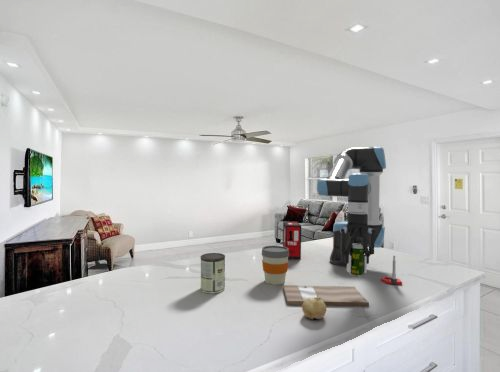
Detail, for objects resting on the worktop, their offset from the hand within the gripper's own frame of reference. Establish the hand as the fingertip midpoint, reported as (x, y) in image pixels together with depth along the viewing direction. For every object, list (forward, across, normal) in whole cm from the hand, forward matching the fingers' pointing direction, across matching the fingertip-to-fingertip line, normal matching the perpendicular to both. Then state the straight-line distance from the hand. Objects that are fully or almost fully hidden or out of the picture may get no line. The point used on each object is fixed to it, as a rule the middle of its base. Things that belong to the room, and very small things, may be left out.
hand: (356, 271), depth 114 cm
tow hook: (+10, +23, +20) cm, 33 cm away
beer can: (+1, 0, 0) cm, 1 cm away
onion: (+11, -20, -17) cm, 28 cm away
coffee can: (+11, -58, +6) cm, 59 cm away
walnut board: (+10, -13, 0) cm, 17 cm away
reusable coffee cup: (+11, -31, +17) cm, 37 cm away
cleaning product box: (+10, -18, +63) cm, 67 cm away
